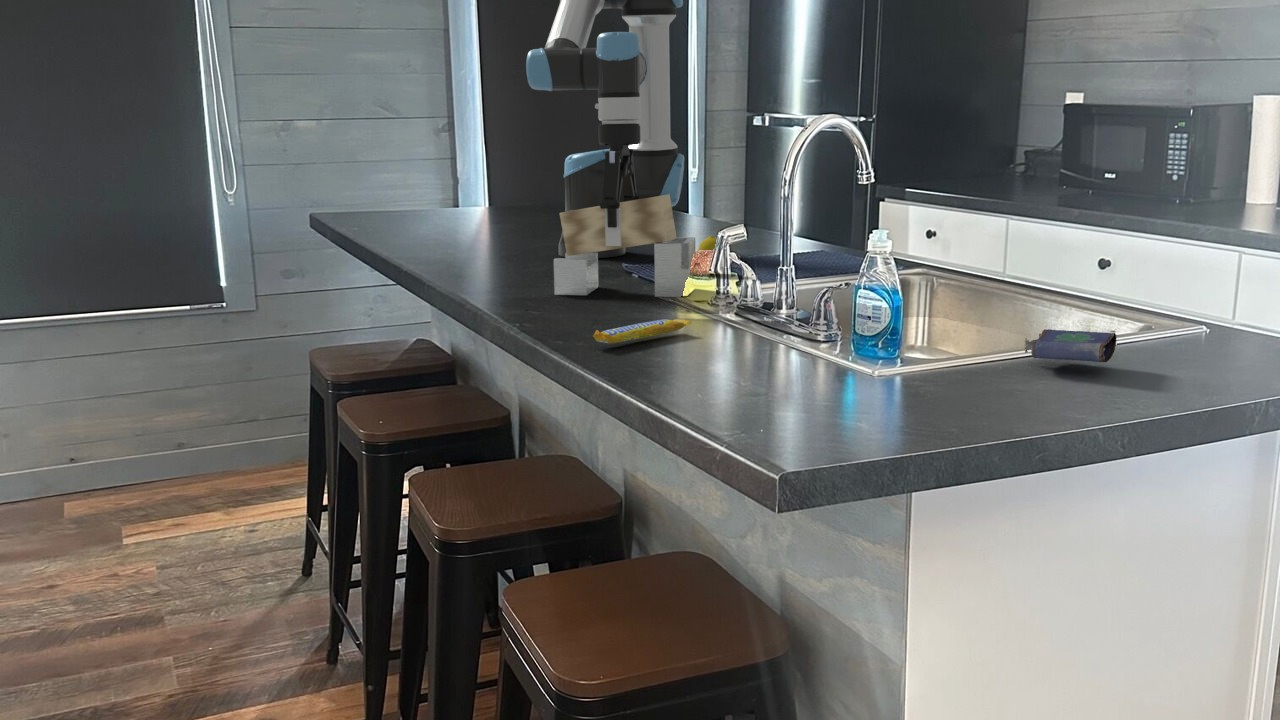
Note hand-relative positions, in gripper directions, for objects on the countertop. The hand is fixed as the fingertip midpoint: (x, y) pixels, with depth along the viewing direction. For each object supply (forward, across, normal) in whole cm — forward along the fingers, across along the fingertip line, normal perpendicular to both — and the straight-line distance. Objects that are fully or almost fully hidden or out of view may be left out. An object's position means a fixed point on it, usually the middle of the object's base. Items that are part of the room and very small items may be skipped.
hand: (621, 241), depth 201 cm
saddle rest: (+9, 0, -8) cm, 13 cm away
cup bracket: (+9, 0, +10) cm, 14 cm away
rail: (+1, 0, 0) cm, 1 cm away
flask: (+10, +50, +74) cm, 90 cm away
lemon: (+9, -22, +14) cm, 28 cm away
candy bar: (+10, +38, +11) cm, 41 cm away
